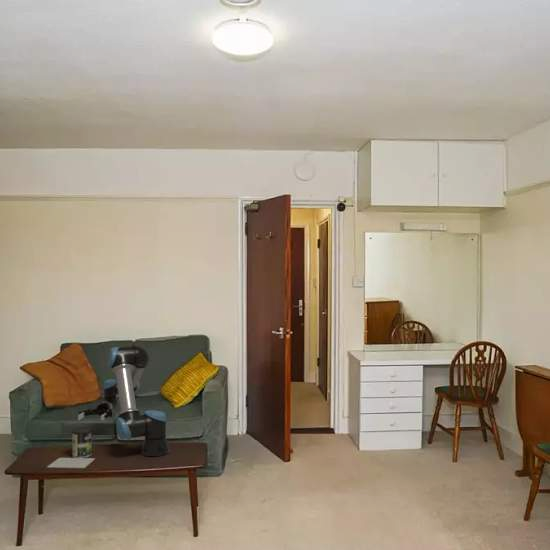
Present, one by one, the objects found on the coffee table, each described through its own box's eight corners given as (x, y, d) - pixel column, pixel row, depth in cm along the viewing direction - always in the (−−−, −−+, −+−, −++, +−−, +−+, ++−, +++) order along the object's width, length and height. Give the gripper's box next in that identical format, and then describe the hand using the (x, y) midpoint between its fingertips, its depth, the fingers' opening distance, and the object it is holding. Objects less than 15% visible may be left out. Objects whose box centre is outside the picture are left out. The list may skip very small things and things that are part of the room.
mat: (95, 459, 286) (95, 458, 286) (84, 468, 272) (84, 467, 272) (59, 458, 288) (59, 457, 288) (46, 467, 274) (46, 466, 274)
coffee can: (95, 452, 297) (95, 427, 297) (85, 458, 287) (85, 433, 287) (78, 451, 299) (78, 426, 299) (68, 457, 289) (68, 432, 289)
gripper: (123, 414, 326) (111, 424, 305) (84, 414, 327) (69, 423, 306) (123, 402, 326) (111, 412, 305) (84, 402, 327) (69, 411, 306)
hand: (90, 418), depth 305 cm, fingers open, 13 cm apart
